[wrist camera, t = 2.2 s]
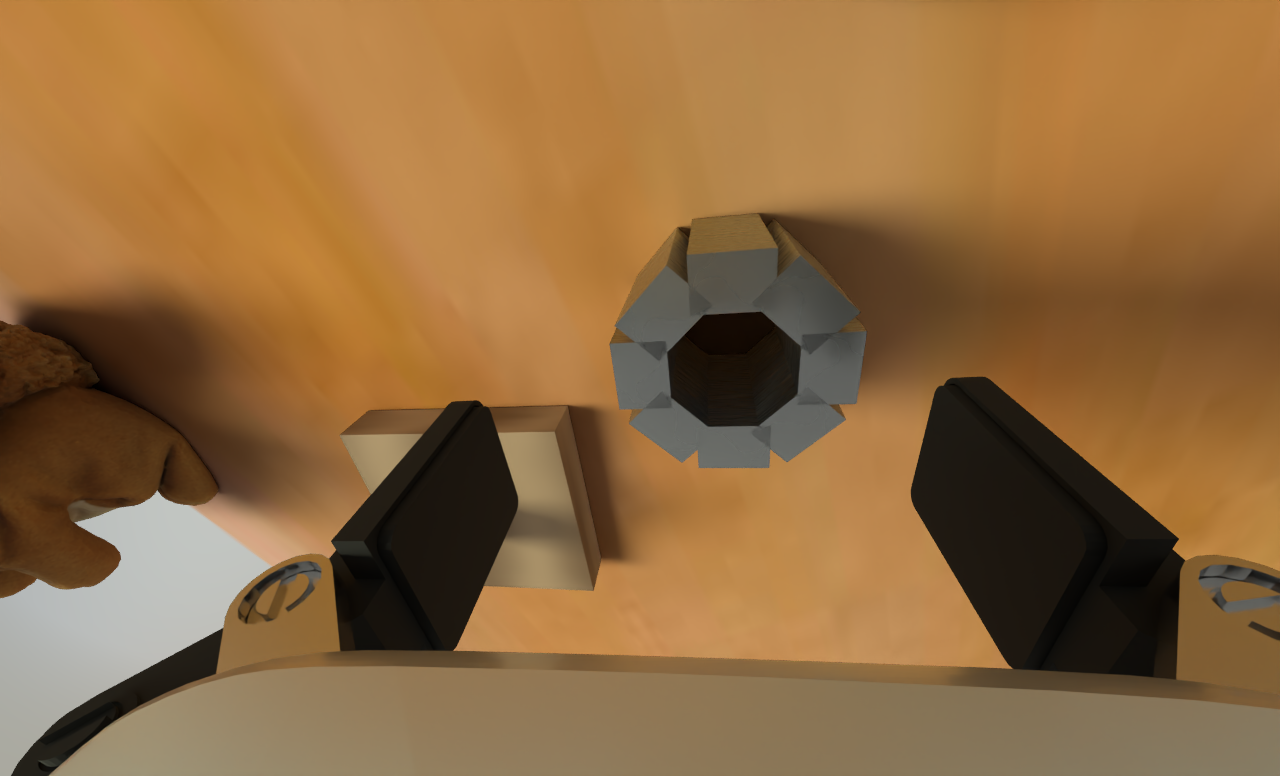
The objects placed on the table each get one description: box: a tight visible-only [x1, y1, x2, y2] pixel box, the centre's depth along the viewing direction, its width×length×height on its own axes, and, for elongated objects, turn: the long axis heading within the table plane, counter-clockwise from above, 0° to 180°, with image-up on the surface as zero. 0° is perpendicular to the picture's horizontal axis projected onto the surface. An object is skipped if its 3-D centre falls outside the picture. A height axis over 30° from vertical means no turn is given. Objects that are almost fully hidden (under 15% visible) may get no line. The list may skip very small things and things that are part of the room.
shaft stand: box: [340, 406, 601, 591], centre depth 20 cm, size 10×10×8 cm
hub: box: [610, 213, 867, 468], centre depth 15 cm, size 7×7×5 cm
